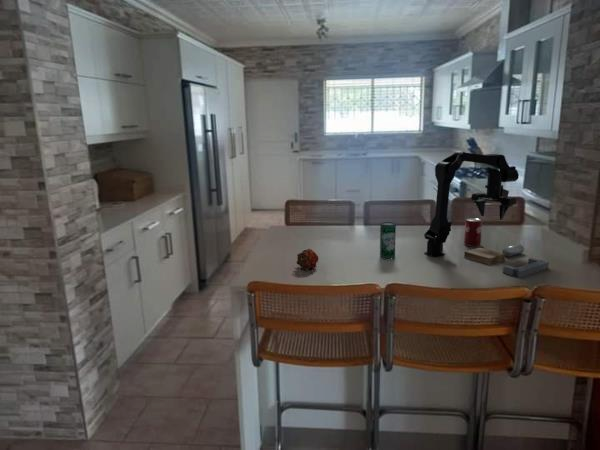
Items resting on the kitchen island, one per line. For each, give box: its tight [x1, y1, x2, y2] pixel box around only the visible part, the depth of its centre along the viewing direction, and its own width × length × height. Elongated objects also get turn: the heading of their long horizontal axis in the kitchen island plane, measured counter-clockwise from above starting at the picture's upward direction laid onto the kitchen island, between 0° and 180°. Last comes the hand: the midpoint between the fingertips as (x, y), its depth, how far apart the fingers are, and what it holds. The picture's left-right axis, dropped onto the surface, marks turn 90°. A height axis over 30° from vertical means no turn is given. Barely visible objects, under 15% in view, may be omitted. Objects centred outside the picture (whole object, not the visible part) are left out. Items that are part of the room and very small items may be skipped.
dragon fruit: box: [296, 248, 319, 270], centre depth 181 cm, size 8×8×12 cm
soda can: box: [463, 217, 483, 248], centre depth 205 cm, size 7×7×12 cm
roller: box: [501, 243, 525, 258], centre depth 190 cm, size 9×4×4 cm, turn 122°
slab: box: [463, 247, 506, 265], centre depth 187 cm, size 10×12×3 cm
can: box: [379, 221, 397, 260], centre depth 190 cm, size 6×6×15 cm
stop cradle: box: [502, 257, 550, 279], centre depth 171 cm, size 18×7×2 cm, turn 122°
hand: (491, 217), depth 199 cm, fingers open, 9 cm apart
